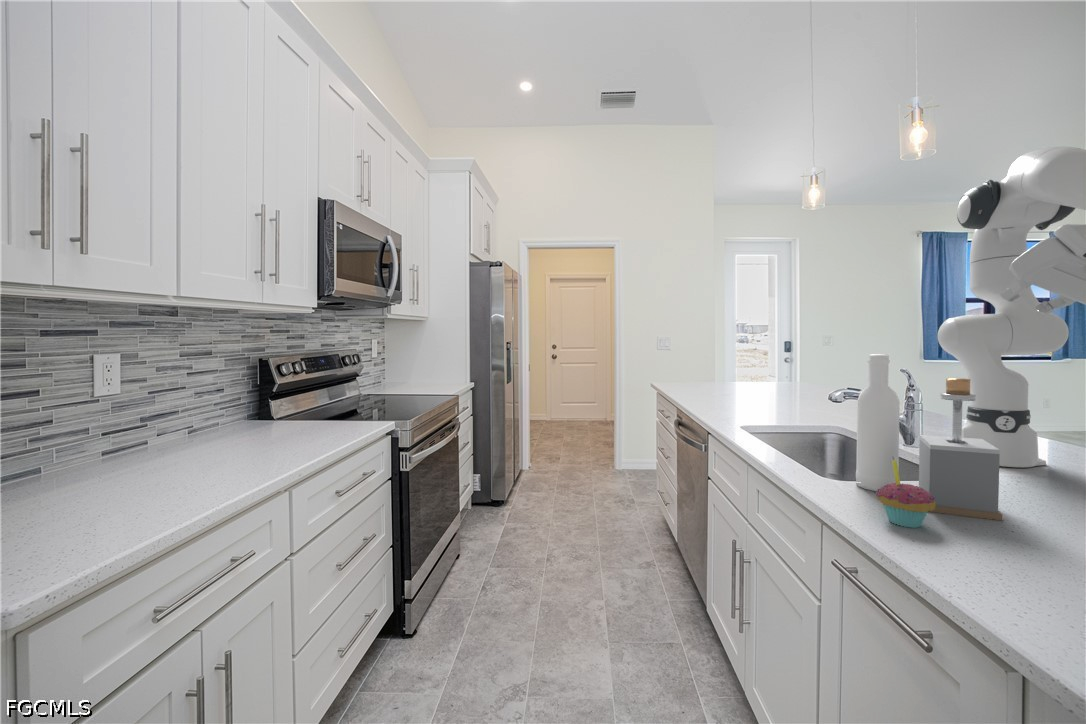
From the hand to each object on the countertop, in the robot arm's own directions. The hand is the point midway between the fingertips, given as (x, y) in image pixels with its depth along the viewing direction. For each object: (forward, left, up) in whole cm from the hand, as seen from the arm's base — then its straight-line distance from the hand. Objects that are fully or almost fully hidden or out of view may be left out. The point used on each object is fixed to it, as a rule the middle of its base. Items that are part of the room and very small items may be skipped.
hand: (1022, 304), depth 91 cm
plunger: (+5, -10, -32) cm, 34 cm away
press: (+5, -10, -40) cm, 41 cm away
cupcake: (+19, -20, -40) cm, 49 cm away
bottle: (-3, -22, -40) cm, 46 cm away
